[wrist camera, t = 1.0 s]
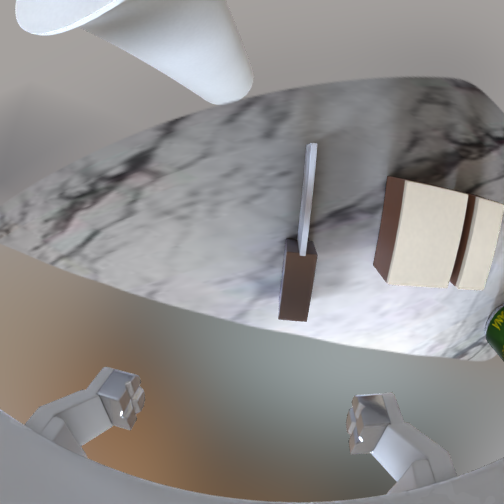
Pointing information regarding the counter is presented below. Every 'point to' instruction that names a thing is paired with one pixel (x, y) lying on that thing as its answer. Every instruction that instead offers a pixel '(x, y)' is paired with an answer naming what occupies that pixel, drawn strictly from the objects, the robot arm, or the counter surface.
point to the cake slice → (477, 243)
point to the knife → (300, 254)
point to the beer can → (496, 330)
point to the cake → (419, 233)
